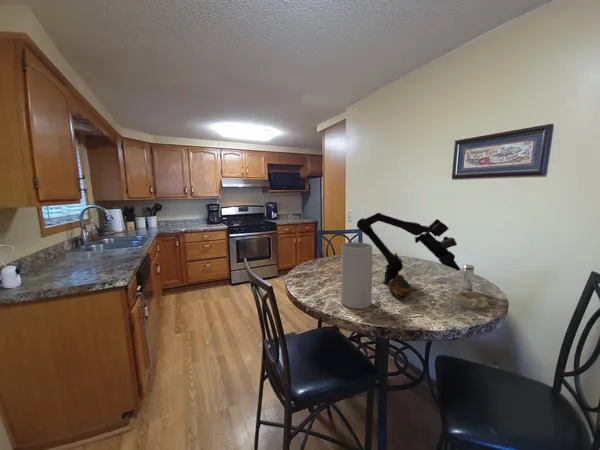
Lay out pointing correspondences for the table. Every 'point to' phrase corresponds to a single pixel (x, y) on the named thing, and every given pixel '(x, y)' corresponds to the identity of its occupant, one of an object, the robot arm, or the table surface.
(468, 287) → the silver metal cylinder
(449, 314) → the table surface
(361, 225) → the robot arm
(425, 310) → the table surface
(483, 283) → the table surface
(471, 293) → the socket block
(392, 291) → the decorative turtle
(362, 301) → the cylinder vase
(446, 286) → the table surface
